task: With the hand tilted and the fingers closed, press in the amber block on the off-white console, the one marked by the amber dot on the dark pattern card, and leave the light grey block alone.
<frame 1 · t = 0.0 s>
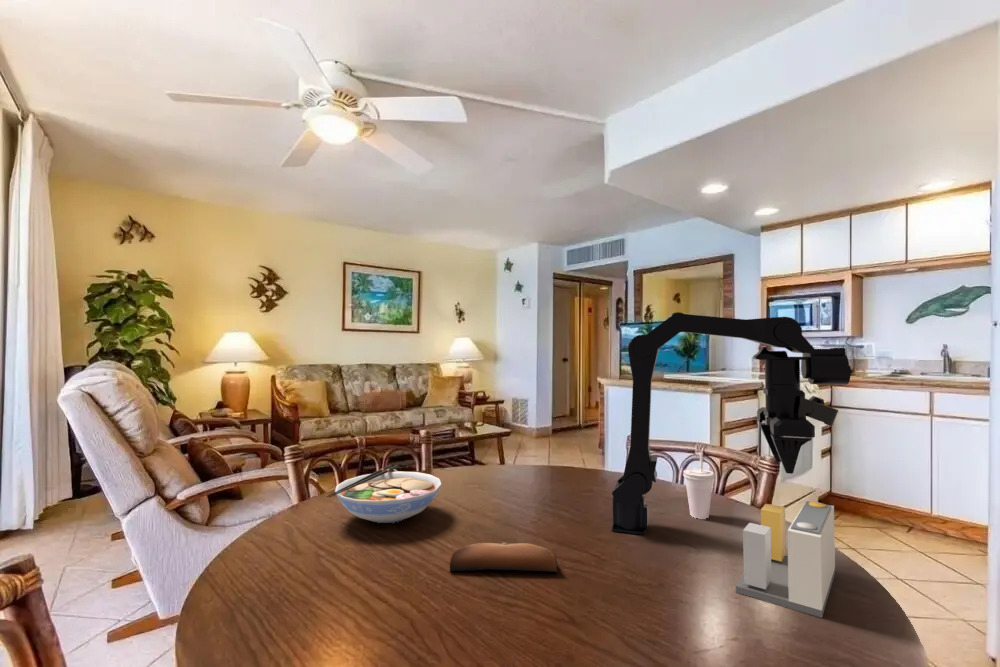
hand: (783, 467, 92), 15 cm above the table, tool pointing down, fingers open, 9 cm apart
sunglasses case: (504, 567, 85), on the table
amber block: (773, 531, 84), point 5 cm above the table, slide at 0.0 cm
button console: (791, 583, 77), on the table
ramen bowl: (389, 519, 107), on the table
light grey block: (757, 555, 75), point 6 cm above the table, slide at 0.0 cm
smoothie: (699, 517, 108), on the table
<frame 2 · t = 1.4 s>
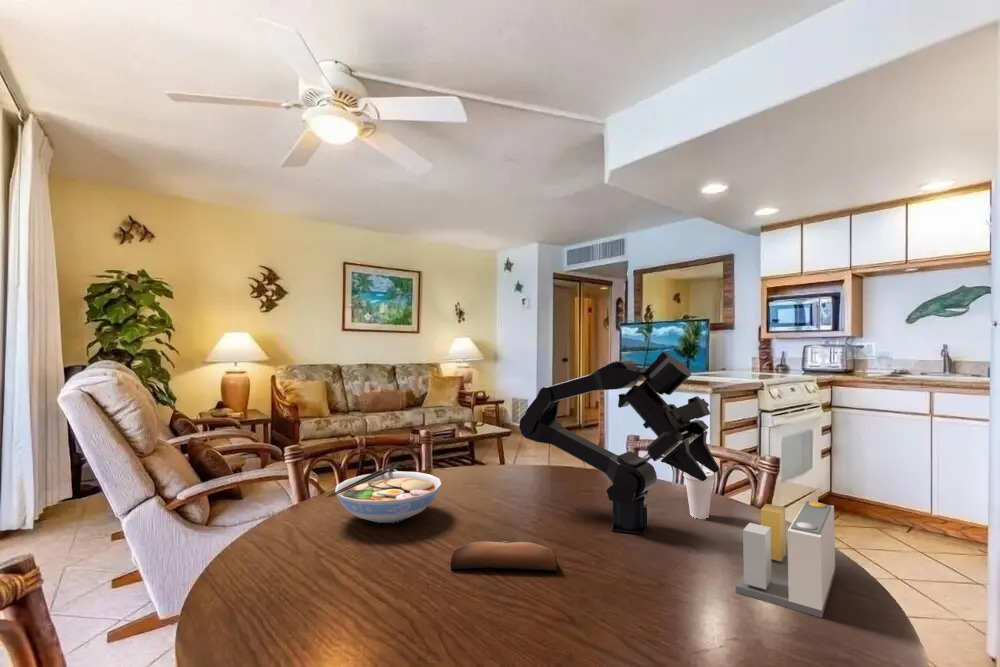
hand: (711, 475, 91), 13 cm above the table, tool tilted 45°, fingers open, 7 cm apart
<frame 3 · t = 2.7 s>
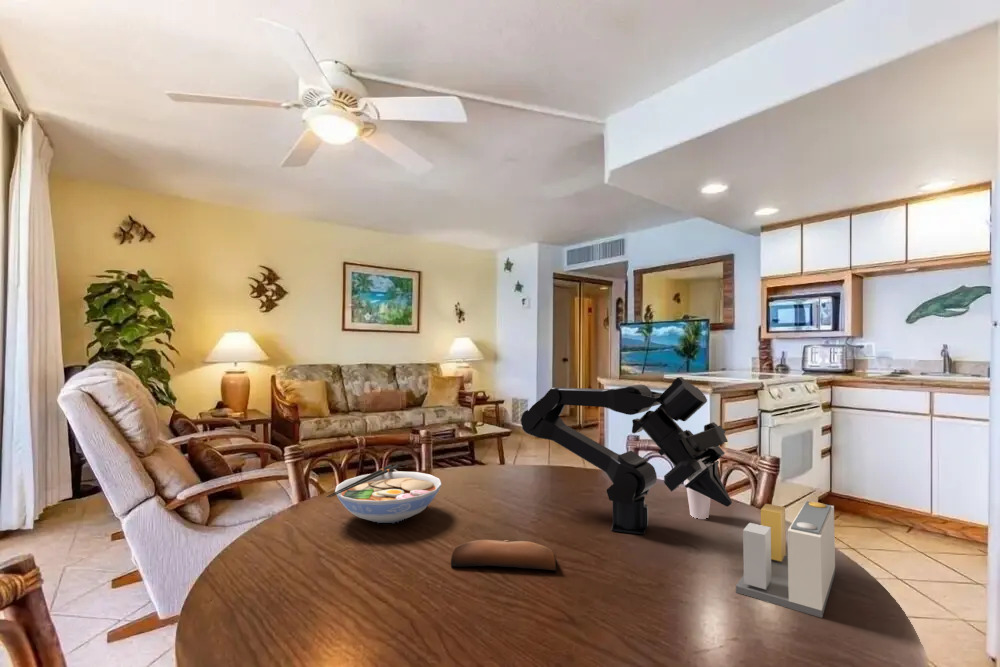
hand: (729, 504, 89), 9 cm above the table, tool tilted 45°, fingers closed
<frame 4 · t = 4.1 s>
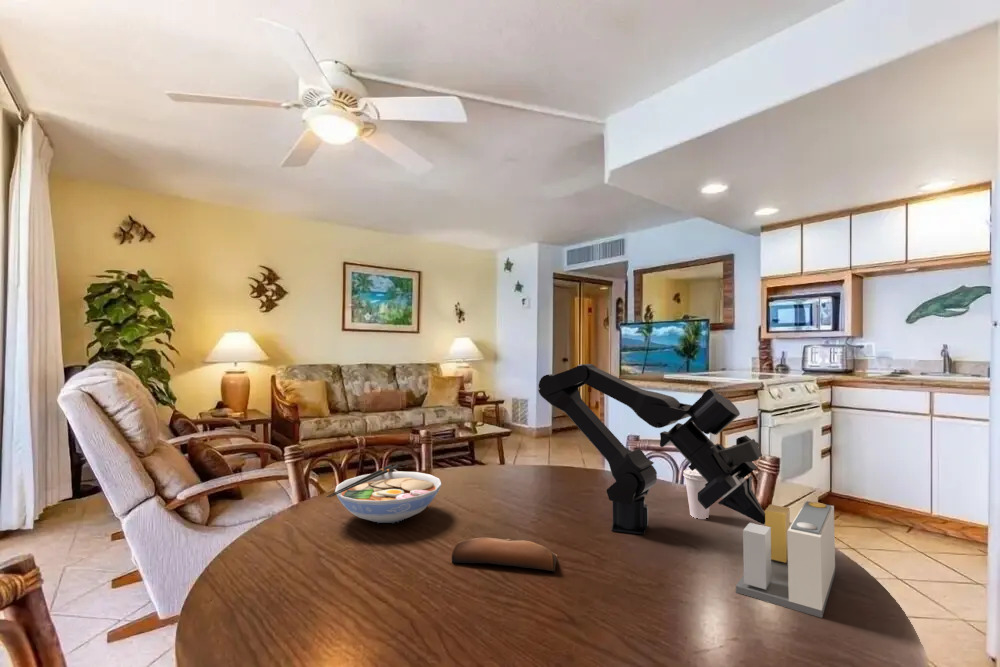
hand: (766, 522, 85), 7 cm above the table, tool tilted 45°, fingers closed, pressing on amber block
amber block: (777, 532, 84), point 6 cm above the table, slide at 0.7 cm, touching gripper
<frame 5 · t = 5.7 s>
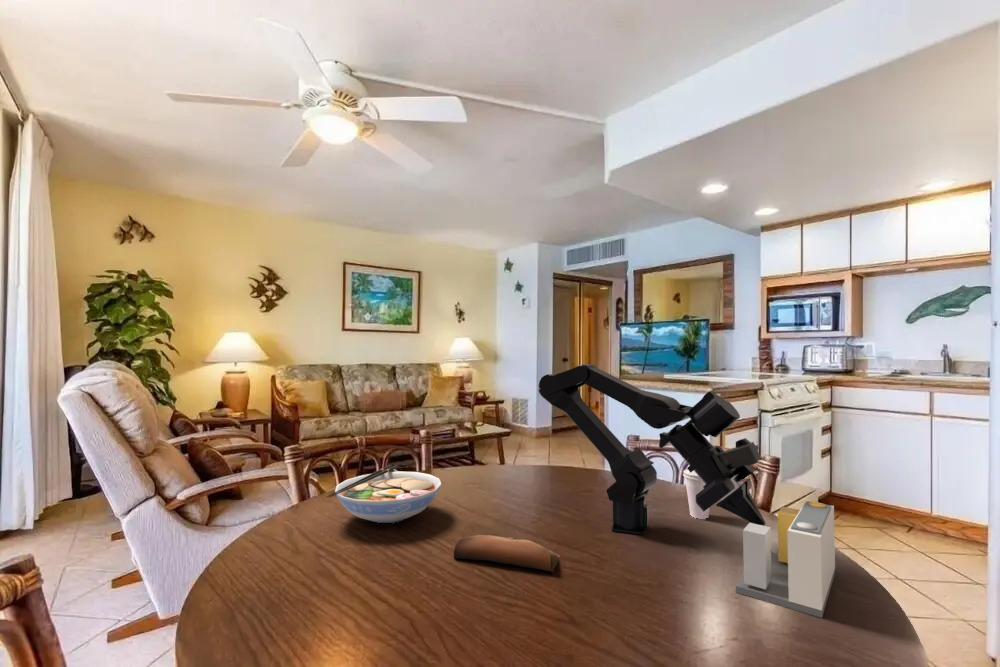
hand: (763, 525, 85), 6 cm above the table, tool tilted 45°, fingers closed
amber block: (790, 535, 83), point 5 cm above the table, slide at 2.6 cm
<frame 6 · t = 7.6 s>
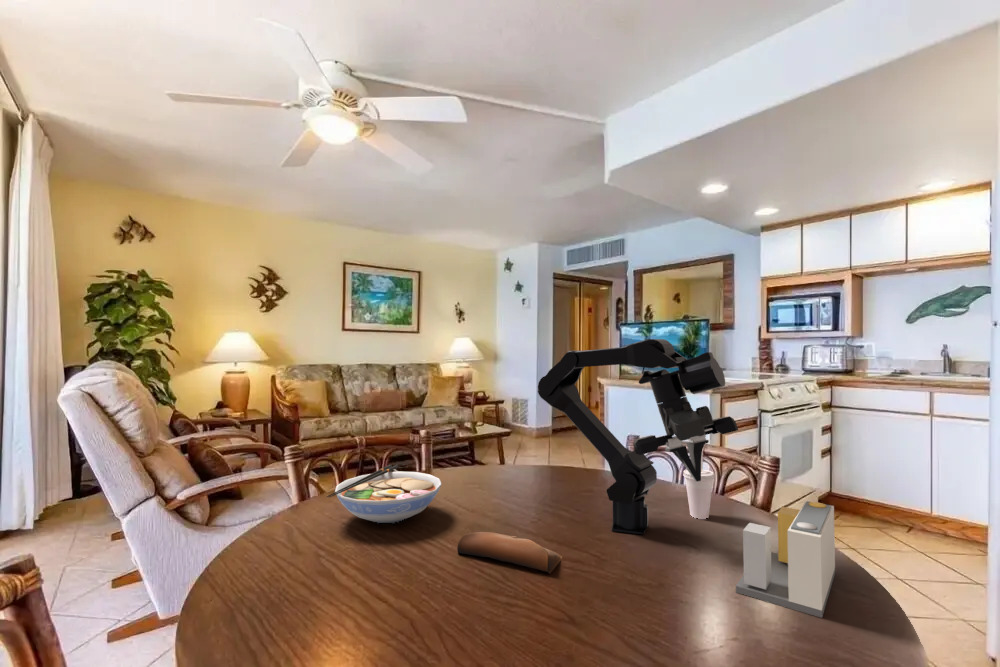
hand: (698, 481, 92), 12 cm above the table, tool tilted 20°, fingers closed
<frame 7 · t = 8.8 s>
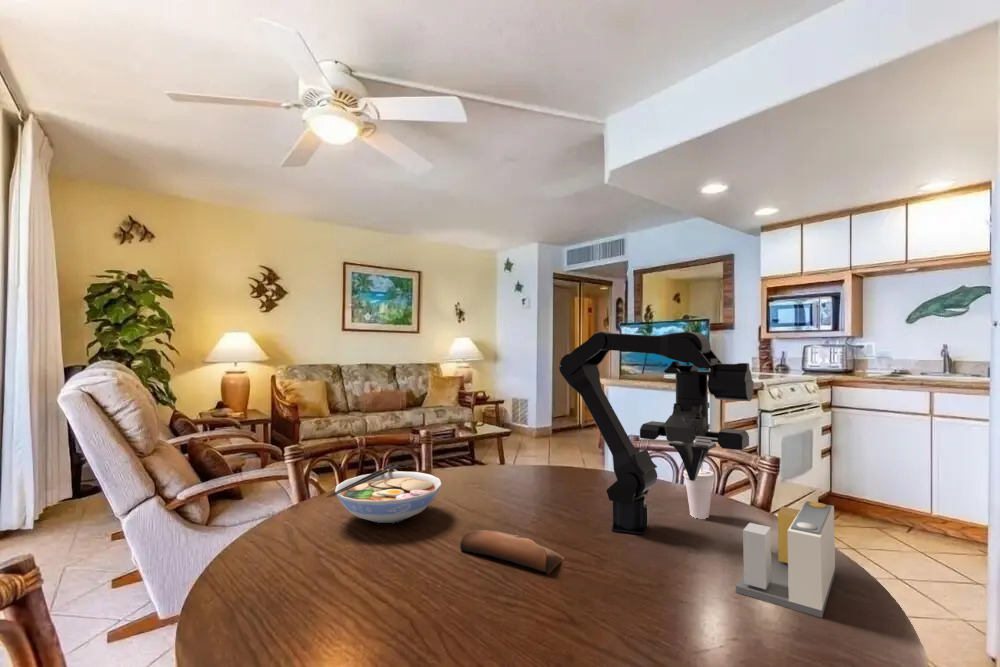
hand: (692, 480, 93), 12 cm above the table, tool pointing down, fingers closed
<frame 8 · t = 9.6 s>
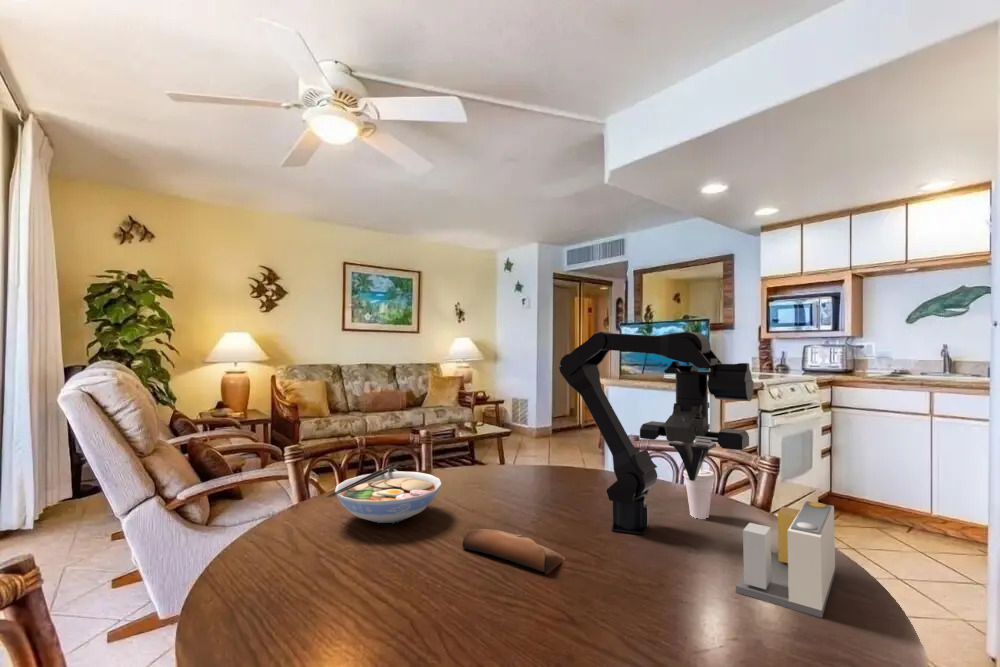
hand: (692, 480, 93), 12 cm above the table, tool pointing down, fingers closed
at the end: amber block slide at 2.6 cm; light grey block slide at 0.0 cm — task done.
